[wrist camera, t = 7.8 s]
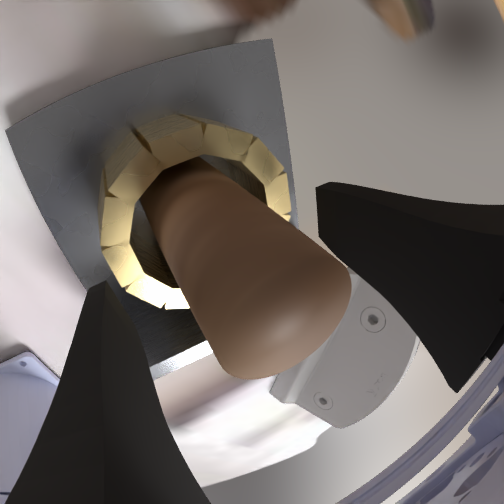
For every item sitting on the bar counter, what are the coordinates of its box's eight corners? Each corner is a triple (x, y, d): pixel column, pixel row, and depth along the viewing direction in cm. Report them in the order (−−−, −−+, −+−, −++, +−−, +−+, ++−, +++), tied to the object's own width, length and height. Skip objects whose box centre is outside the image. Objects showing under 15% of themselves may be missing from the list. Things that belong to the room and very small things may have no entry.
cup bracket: (114, 321, 16) (130, 390, 13) (11, 126, 9) (-31, 151, 5) (291, 237, 19) (342, 281, 16) (261, 40, 12) (330, 32, 8)
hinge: (327, 256, 22) (444, 325, 17) (352, 245, 26) (450, 301, 20) (268, 395, 29) (343, 450, 24) (294, 374, 33) (363, 423, 28)
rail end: (160, 238, 14) (246, 396, 7) (125, 176, 12) (188, 324, 5) (223, 202, 15) (353, 324, 8) (198, 137, 12) (346, 226, 6)
